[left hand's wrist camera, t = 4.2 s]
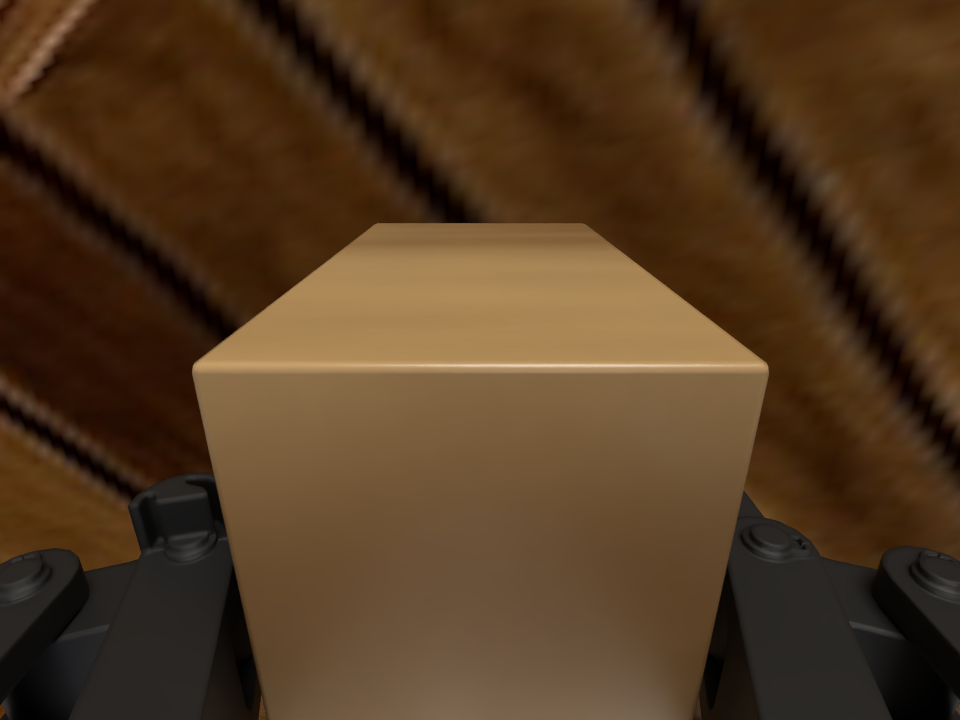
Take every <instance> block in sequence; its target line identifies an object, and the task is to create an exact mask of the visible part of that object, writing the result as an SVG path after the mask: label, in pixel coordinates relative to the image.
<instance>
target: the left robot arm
mask: <svg viewBox="0 0 960 720" xmlns="http://www.w3.org/2000/svg"><path fill="white" fill-rule="evenodd" d="M128 509H129V512H130V516H131V519H132V523H133V526H134V529H135V533H136V536H137V539H138V543H139V546H140V550H141V555H140V557H139V559H138V560H134V561H131V562H127V563H122V564H118V565H113V566H109V567H104V568H99V569H95V570H90V571H85V572H84V571H83V568H82V565H81V563H80V560H79V557H78V556H77V555H75V554H74V553H73V552H72V551H70V550H64V549H57V548H53V549H46V550H38V551H33V552H30V553H26V554H24V555H19V556H17V557H14V558H11V559H9V560H8V561H6V562H4V563H2V564H0V705H1V704H2V706H3V708H4V710H5V712H6V713H5V714H4V715H3V716H2V718H1V719H0V720H258V718H259V709H260V700H261V689H260V684H259V680H258V675H257V670H256V666H255V661H254V657H253V652H252V647H251V643H250V638H249V633H248V629H247V624H246V620H245V615H244V610H243V606H242V601H241V596H240V592H239V587H238V583H237V578H236V573H235V569H234V564H233V560H232V555H231V550H230V546H229V541H228V536H227V532H226V527H225V523H224V518H223V513H222V509H221V504H220V500H219V495H218V490H217V486H216V481H215V476H214V474H211V473H189V474H184V475H180V476H175V477H171V478H168V479H166V480H164V481H161V482H159V483H156V484H154V485H152V486H150V487H149V488H147V489H146V490H144V491H143V492H141V493H140V494H138V495H137V496H136V497H135V498H134V499H133V501H132V502H131V503H130V504H129V505H128ZM699 698H700V708H701V717H702V720H960V715H959V714H958V713H957V711H956V709H957V707H958V705H959V703H960V561H958V560H956V559H954V558H953V557H951V556H948V555H946V554H943V553H940V552H939V553H938V552H937V551H933V550H929V549H925V548H918V547H911V546H902V547H895V548H890V549H889V550H888V551H887V552H885V553H884V554H883V555H882V558H881V561H880V564H879V567H878V570H877V569H872V568H867V567H863V566H858V565H853V564H849V563H844V562H839V561H835V560H831V559H827V558H824V557H821V556H820V554H819V552H818V551H817V549H816V548H815V547H814V545H813V544H812V542H811V541H810V540H809V539H808V538H806V537H805V536H804V535H802V534H801V533H800V532H798V531H797V530H796V529H794V528H791V527H789V526H787V525H785V524H783V523H781V522H779V521H775V520H771V519H768V518H764V516H763V515H762V514H761V512H760V511H759V510H758V509H757V507H756V506H755V505H754V503H753V502H752V501H751V499H750V498H749V497H748V495H747V494H746V493H745V491H744V490H743V495H742V499H741V504H740V509H739V513H738V518H737V522H736V527H735V531H734V536H733V541H732V545H731V550H730V554H729V559H728V563H727V568H726V573H725V577H724V582H723V586H722V591H721V596H720V600H719V605H718V609H717V614H716V618H715V623H714V628H713V632H712V637H711V641H710V646H709V651H708V655H707V660H706V664H705V669H704V673H703V678H702V683H701V687H700V692H699Z"/></svg>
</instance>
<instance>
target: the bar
mask: <svg viewBox="0 0 960 720" xmlns="http://www.w3.org/2000/svg"><path fill="white" fill-rule="evenodd" d="M192 375H193V379H194V384H195V389H196V393H197V398H198V403H199V407H200V412H201V416H202V421H203V426H204V430H205V435H206V439H207V444H208V449H209V453H210V458H211V463H212V467H213V472H214V476H215V481H216V486H217V490H218V495H219V500H220V504H221V509H222V513H223V518H224V523H225V527H226V532H227V536H228V541H229V546H230V550H231V555H232V560H233V564H234V569H235V573H236V578H237V583H238V587H239V592H240V596H241V601H242V606H243V610H244V615H245V620H246V624H247V629H248V633H249V638H250V643H251V647H252V652H253V657H254V661H255V666H256V670H257V675H258V680H259V684H260V689H261V693H262V698H263V703H264V707H265V712H266V717H267V720H693V719H694V715H695V710H696V705H697V701H698V696H699V692H700V687H701V683H702V678H703V673H704V669H705V664H706V660H707V655H708V651H709V646H710V641H711V637H712V632H713V628H714V623H715V618H716V614H717V609H718V605H719V600H720V596H721V591H722V586H723V582H724V577H725V573H726V568H727V563H728V559H729V554H730V550H731V545H732V541H733V536H734V531H735V527H736V522H737V518H738V513H739V509H740V504H741V499H742V495H743V490H744V486H745V481H746V476H747V472H748V467H749V463H750V458H751V454H752V449H753V444H754V440H755V435H756V431H757V426H758V422H759V417H760V412H761V408H762V403H763V399H764V394H765V389H766V385H767V380H768V376H769V370H768V365H767V363H766V362H764V361H763V360H762V359H760V358H759V357H758V356H757V355H755V354H754V353H753V352H751V351H750V350H749V349H747V348H746V347H745V346H744V345H742V344H741V343H740V342H738V341H737V340H736V339H734V338H733V337H732V336H730V335H729V334H728V333H727V332H725V331H724V330H723V329H721V328H720V327H719V326H717V325H716V324H715V323H713V322H712V321H711V320H710V319H708V318H707V317H706V316H704V315H703V314H702V313H700V312H699V311H698V310H697V309H695V308H694V307H693V306H691V305H690V304H689V303H687V302H686V301H685V300H683V299H682V298H681V297H680V296H678V295H677V294H676V293H674V292H673V291H672V290H670V289H669V288H668V287H666V286H665V285H664V284H663V283H661V282H660V281H659V280H657V279H656V278H655V277H653V276H652V275H651V274H650V273H648V272H647V271H646V270H644V269H643V268H642V267H640V266H639V265H638V264H636V263H635V262H634V261H633V260H631V259H630V258H629V257H627V256H626V255H625V254H623V253H622V252H621V251H620V250H618V249H617V248H616V247H614V246H613V245H612V244H610V243H609V242H608V241H606V240H605V239H604V238H603V237H601V236H600V235H599V234H597V233H596V232H595V231H593V230H592V229H591V228H589V227H588V226H587V225H585V224H583V223H377V224H375V225H373V226H372V227H371V228H370V229H368V230H367V231H366V232H364V233H363V234H362V235H360V236H359V237H358V238H357V239H355V240H354V241H353V242H351V243H350V244H349V245H347V246H346V247H345V248H344V249H342V250H341V251H340V252H338V253H337V254H336V255H334V256H333V257H332V258H330V259H329V260H328V261H327V262H325V263H324V264H323V265H321V266H320V267H319V268H317V269H316V270H315V271H314V272H312V273H311V274H310V275H308V276H307V277H306V278H304V279H303V280H302V281H301V282H299V283H298V284H297V285H295V286H294V287H293V288H291V289H290V290H289V291H288V292H286V293H285V294H284V295H282V296H281V297H280V298H278V299H277V300H276V301H275V302H273V303H272V304H271V305H269V306H268V307H267V308H265V309H264V310H263V311H262V312H260V313H259V314H258V315H256V316H255V317H254V318H252V319H251V320H250V321H249V322H247V323H246V324H245V325H243V326H242V327H241V328H239V329H238V330H237V331H236V332H234V333H233V334H232V335H230V336H229V337H228V338H226V339H225V340H224V341H222V342H221V343H220V344H219V345H217V346H216V347H215V348H213V349H212V350H211V351H209V352H208V353H207V354H206V355H204V356H203V357H202V358H200V359H199V360H198V361H196V362H195V363H194V366H193V371H192Z"/></svg>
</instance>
